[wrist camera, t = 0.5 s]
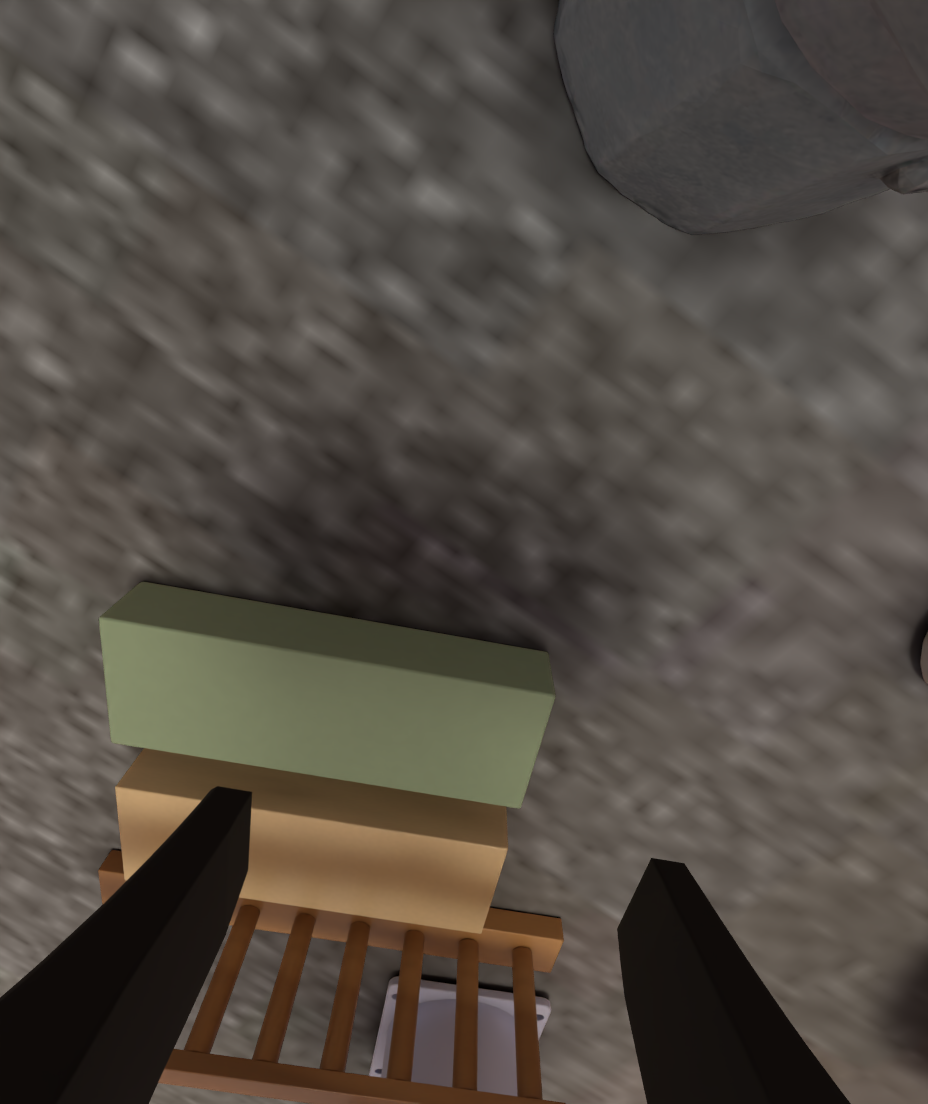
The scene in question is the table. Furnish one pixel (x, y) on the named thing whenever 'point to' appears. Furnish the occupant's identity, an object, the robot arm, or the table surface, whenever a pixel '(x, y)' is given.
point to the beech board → (330, 839)
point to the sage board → (324, 694)
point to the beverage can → (925, 659)
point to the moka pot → (748, 103)
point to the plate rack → (330, 1090)
